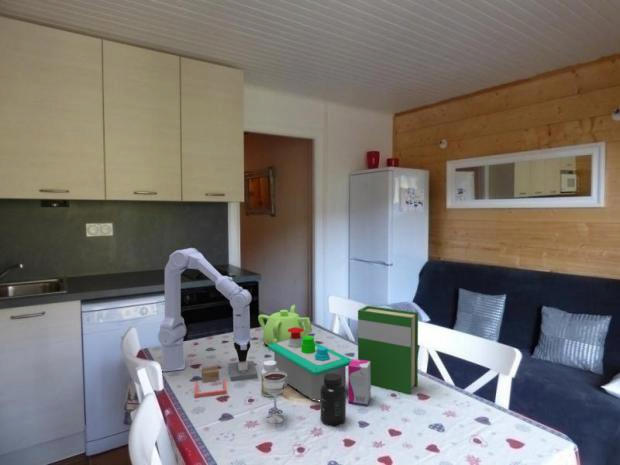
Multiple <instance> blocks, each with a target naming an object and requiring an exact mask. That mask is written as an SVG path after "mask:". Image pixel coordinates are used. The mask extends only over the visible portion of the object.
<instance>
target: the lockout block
mask: <svg viewBox="0 0 620 465" xmlns="http://www.w3.org/2000/svg"><path fill="white" fill-rule="evenodd" d="M201 371H202V372H201V377H202V382H203V384H205V383H213V382H219V380H220V375H219V374H220V373H219V372H220V370H219V368H218V365H211V366H210V365H209V366H202V368H201Z"/></svg>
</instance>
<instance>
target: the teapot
mask: <svg viewBox="0 0 620 465" xmlns="http://www.w3.org/2000/svg"><path fill="white" fill-rule="evenodd" d="M295 310H296V305H295V304H292V305H291V306H290V310H288V309H280V310H279V312H278V311H277V312H275V313H272V314H271V315H268V314H259V315H258V317H257V320H258V323H259V325H260V326H261V328H262V330H263V335H262V339H263V342H264V343H265V344H266V346H268V345H269V344H274V343H278V342H282V341H286V340H289V337H291V332H288V331H287V330H288V329H290V328H294V327H298V328H302V329H304V331H303V332H300V336H301V337H305V336H309V334H311V333H312V332H313V328H312V324H311V321H310V317H307V316H306V317H304V316H303V317H300V316H299V314H298V313H296V311H295ZM264 319H265V320H267V321H266V324H265V321H264Z"/></svg>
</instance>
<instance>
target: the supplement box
mask: <svg viewBox="0 0 620 465" xmlns="http://www.w3.org/2000/svg"><path fill="white" fill-rule="evenodd" d="M351 359H352V361H351V363H350V364H349V365H348V366H347V372H348V374H347V375H348V376H347V377H348V380H347V381H348V382H347V383H348V387H347V388H348V392H347V394H348V397H347V398H348V404H350V405H355V406H356V405H357V406H364V407H368V405H369V403H370V401H371V398H372V395H371V392H372V391H371V387H372V385H371V372H370V370H371V369H370V361H365V360H358V359H354V358H351Z"/></svg>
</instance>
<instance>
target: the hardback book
mask: <svg viewBox="0 0 620 465" xmlns="http://www.w3.org/2000/svg"><path fill="white" fill-rule="evenodd" d="M418 359H419V312H418V311H409V310H404V309H403V310H402V309H396V308H389V307H388V308H387V307H381V306H380V307H379V306H372V305H366V306H364V307H361V308H360V309H358V310H357V360H365V361H370V369H371V370H370V372H371V387H372V386H373V387H378V388H381V389H385V390H388V391H389V390H390V391H392V392H398V393H401V394H405V395H410V396H411V395H412V388H413V387H417V388H418V382H419V380H418V379H419V378H418V377H419V373H418V372H419V370H418V369H419V360H418Z"/></svg>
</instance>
